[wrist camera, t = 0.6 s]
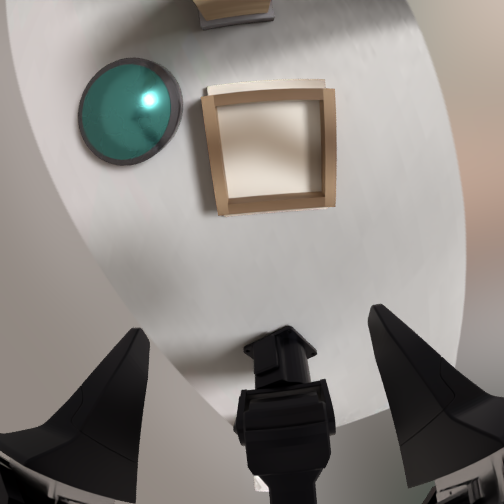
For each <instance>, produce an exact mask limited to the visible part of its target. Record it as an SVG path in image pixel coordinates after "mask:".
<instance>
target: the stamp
mask: <svg viewBox="0 0 504 504" xmlns="http://www.w3.org/2000/svg"><path fill="white" fill-rule="evenodd" d="M193 2H194V3H195V5H196V6H197V8H198V11H199V18H200V24H201V28H202V29H203V30H207V29H212V28H217V27H223V26H229V25H236V24H244V23H253V22H263V21H274V18H275V16H274V10H273V5H272V0H193Z"/></svg>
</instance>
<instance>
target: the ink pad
mask: <svg viewBox="0 0 504 504" xmlns="http://www.w3.org/2000/svg"><path fill="white" fill-rule="evenodd" d="M182 113H183V97H182V93H181V89H180V87H179V84H178V82H177V80H176V79H175V77H174V76H173V75H172V74H171V72H169V71H168V70H167V69H166V68H165V67H163V66H162V65H160V64H158V63H156V62H153V61H149V60H145V59H140V58H126V59H121V60H118V61H115V62H113V63H110V64H108V65H107V66H105V67H104V68H102V69H101V70H100V71H99V72H97V73H96V75H95V76H94V77H93V78H92V79H91V80H90V82H89V83H88V85H87V86H86V88H85V90H84V92H83V94H82V97H81V100H80V105H79V112H78V121H79V128H80V131H81V135H82V137H83V139H84V141H85V143H86V145H87V146H88V147H89V149H90V150H91V151H92V152H93V153H94V154H95V155H96V156H98V157H99V158H100V159H102V160H104V161H106V162H108V163H111V164H115V165H133V164H138V163H141V162H143V161H145V160H147V159H149V158H151V157H152V156H154V155H155V154H157V153H158V152H159V151H161V150H162V149H163V148H164V147H165V146H166V145H167V144H168V143H169V142H170V141H171V139H172V138H173V137H174V135H175V133H176V132H177V130H178V127H179V125H180V122H181V119H182Z"/></svg>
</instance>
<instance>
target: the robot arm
mask: <svg viewBox="0 0 504 504" xmlns="http://www.w3.org/2000/svg"><path fill="white" fill-rule="evenodd" d="M368 327H369V331H370V336H371V340H372V345H373V350H374V355H375V359H376V363H377V366H378V369H379V372H380V375H381V379H382V382H383V385H384V389H385V392H386V396H387V399H388V403H389V406H390V410H391V414H392V417H393V421H394V425H395V429H396V433H397V437H398V441H399V446H400V451H401V455H402V460H403V465H404V469H405V475H406V480H407V486H408V488H412V487H415V486H418V485H421V484H424V483H427V482H430V481H433V480H435V485H436V486H434V487H432V489H431V491H430V492H429V494H428V495H427V497H426V499H425V500H424V501H423V503H422V504H504V397H497V396H493V395H490V394H488V393H486V392H485V391H483V390H482V389H481V388H480V387H478V386H477V385H476V384H474V383H473V382H472V381H470V380H469V379H468V378H466V377H465V376H464V375H462V374H461V373H460V372H459V371H457V370H456V369H455V368H454V367H453V366H452V365H451V364H449V363H448V362H447V361H446V360H445V359H444V358H443V357H441V355H440V354H438V353H437V352H436V351H435V350H434V349H433V348H432V347H431V346H430V345H429V344H427V343H426V342H425V341H424V340H423V339H422V338H421V337H420V336H418V335H417V334H416V333H415V332H414V331H413V330H412V329H411V328H409V327H408V326H407V325H406V324H405V323H404V322H403V321H401V320H400V319H399V318H398V317H397V316H396V315H394V314H393V313H392V312H391V311H390V310H389V309H387V308H386V307H385V306H384V305H383V304H376V305H372V306H371V309H370V313H369V317H368ZM288 330H289V331H288ZM149 350H150V342H149V339H148V338H147V336H146V334H145V333H144V331H143V330H142V329H141V328H131V329H130V330H129V331H128V333H127V334H126V335H125V336H124V337H123V338H122V339H121V340H120V341H119V343H118V344H117V345H116V346H115V347H114V348H113V349H112V350H111V352H110V353H109V354H108V355H107V356H106V357H105V358H104V359H103V361H102V362H101V363H100V364H99V365H98V366H97V368H96V369H95V370H94V371H93V372H92V373H91V374H90V375H89V377H88V378H87V379H86V380H85V381H84V382H83V384H82V386H80V387H79V388H78V390H77V391H76V392H75V393H74V394H73V395H72V396H71V397H70V399H69V400H68V401H67V402H66V403H65V404H64V405H63V406H62V407H61V408H60V409H59V410H58V411H57V412H56V413H55V414H54V415H53V416H52V417H51V418H50V419H49V420H48V421H47V422H45V423H44V424H43V425H41V426H38V427H35V428H31V429H27V430H22V431H17V432H12V433H6V434H2V433H0V451H2V452H3V453H4V454H6V455H7V456H9V457H10V461H9V460H7V459H5V458H3V457H2V456H0V504H114V502H115V500H120V501H124V502H129V503H136V485H137V468H138V454H139V442H140V432H141V424H142V416H143V408H144V401H145V394H146V387H147V380H148V366H149ZM243 351H244V353H245V354H247V355H248V356H250V357H251V358H252V359H253V360H254V374H255V390H247V389H246V390H241V396H239V403H238V410H237V417H236V421H235V424H234V427H233V430H234V432H235V433H236V434H237V435H238V437H239V441H240V443H241V445H242V446H245V447H246V454H247V463H248V468H249V469H250V471H251V472H252V474H253V475H254V476H259V477H260V479H261V480H262V481H263V482H264V483H265V484H266V485H267V486H268V488H269V496H270V504H317V498H316V488H315V482H316V480H317V478H318V477H319V475H320V473H321V472H322V470H323V468H325V467H326V465H327V463H328V460H329V458H330V455H331V448H330V437H329V436H331V435H335V432H336V426H335V416H334V410H333V406H332V402H331V398H330V394H329V390H328V387H327V383H326V379H321V380H320V381H315V382H311V378H310V372H309V366H308V360H307V359H309V358H311V357H313V356H315V355H317V351H316V349H315V348H314V347H313V346H312V345H311V344H310V343H308V342H307V341H306V340H305V339H304V338H303V337H302V336H301V335H300V334H299V333H298V332H297V331H296V330H295V329H294V328H293V327H291V326H287V327H285V328H283V329H281V330H279V331H277V332H275V333H273V334H270V335H268V336H266V337H264V338H262V339H260V340H258V341H256V342H254V343H252V344H249V345H247V346H245V347H244V348H243Z"/></svg>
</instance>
